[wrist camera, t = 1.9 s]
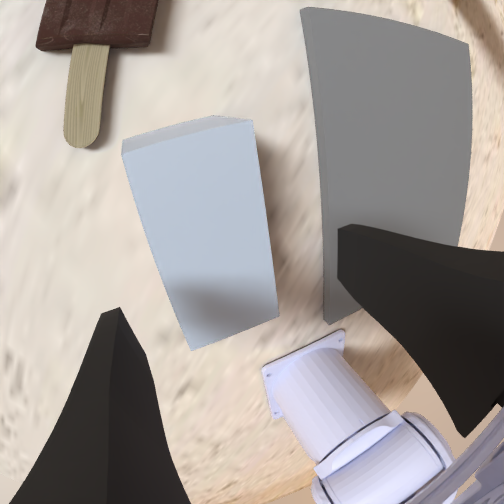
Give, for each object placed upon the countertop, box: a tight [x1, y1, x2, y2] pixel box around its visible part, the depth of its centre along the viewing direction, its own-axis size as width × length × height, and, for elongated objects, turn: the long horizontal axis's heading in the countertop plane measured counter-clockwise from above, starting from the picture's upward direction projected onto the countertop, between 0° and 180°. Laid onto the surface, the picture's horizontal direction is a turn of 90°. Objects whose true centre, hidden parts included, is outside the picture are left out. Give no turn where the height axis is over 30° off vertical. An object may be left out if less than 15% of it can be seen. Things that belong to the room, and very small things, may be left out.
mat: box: [300, 7, 472, 325], centre depth 20 cm, size 22×18×1 cm
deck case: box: [121, 115, 279, 351], centre depth 14 cm, size 9×4×5 cm, turn 9°
